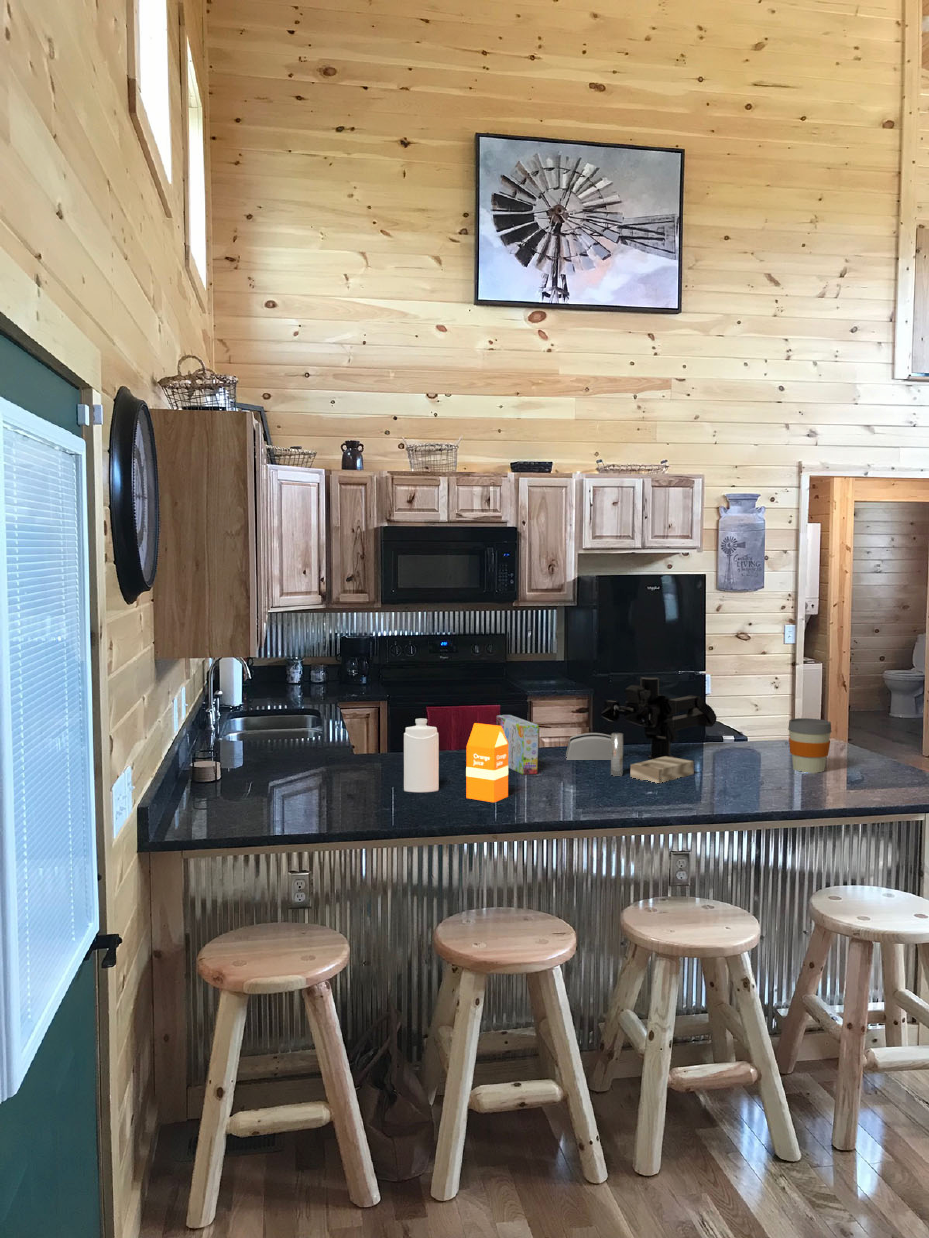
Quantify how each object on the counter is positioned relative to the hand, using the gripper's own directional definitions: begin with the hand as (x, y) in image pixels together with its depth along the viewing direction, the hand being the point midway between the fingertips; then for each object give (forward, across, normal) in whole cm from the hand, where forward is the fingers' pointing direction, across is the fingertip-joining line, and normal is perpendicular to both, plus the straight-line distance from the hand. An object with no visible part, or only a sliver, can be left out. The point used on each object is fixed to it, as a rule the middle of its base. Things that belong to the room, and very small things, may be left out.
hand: (613, 716), depth 300 cm
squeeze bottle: (+60, -21, +17) cm, 65 cm away
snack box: (+19, -23, +17) cm, 34 cm away
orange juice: (+52, -3, +17) cm, 54 cm away
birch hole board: (-4, +15, +16) cm, 23 cm away
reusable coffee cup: (-44, +41, +17) cm, 63 cm away
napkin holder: (-7, -14, +17) cm, 23 cm away
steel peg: (+5, +5, +16) cm, 18 cm away
